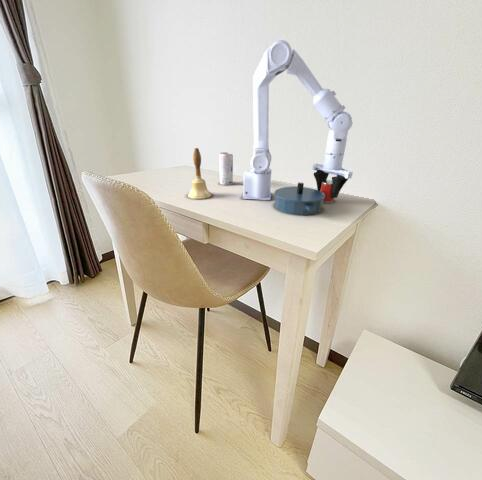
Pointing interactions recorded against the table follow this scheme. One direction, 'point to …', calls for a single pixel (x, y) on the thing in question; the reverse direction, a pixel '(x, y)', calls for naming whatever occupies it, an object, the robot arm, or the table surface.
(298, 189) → the lid
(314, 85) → the robot arm
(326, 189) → the tin can
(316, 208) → the pot
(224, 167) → the energy drink
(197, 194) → the hand bell
